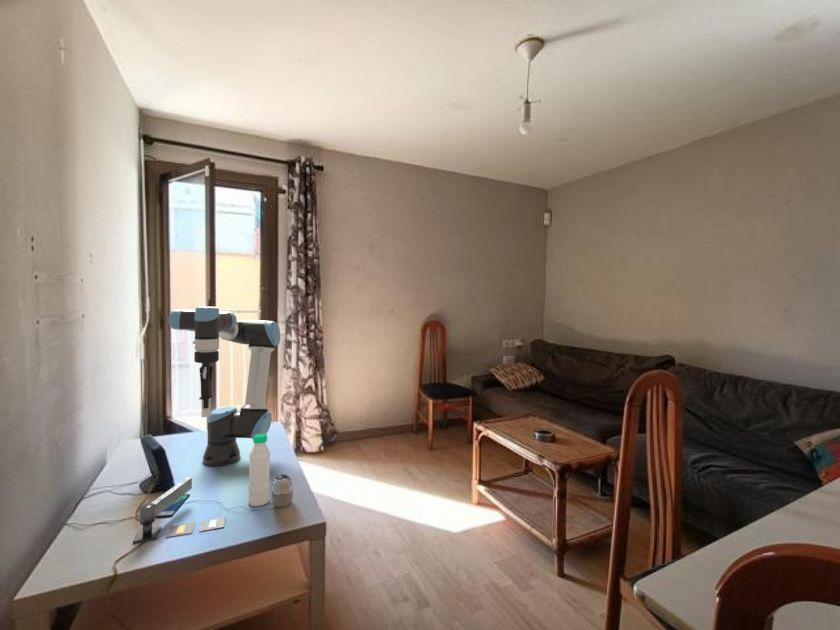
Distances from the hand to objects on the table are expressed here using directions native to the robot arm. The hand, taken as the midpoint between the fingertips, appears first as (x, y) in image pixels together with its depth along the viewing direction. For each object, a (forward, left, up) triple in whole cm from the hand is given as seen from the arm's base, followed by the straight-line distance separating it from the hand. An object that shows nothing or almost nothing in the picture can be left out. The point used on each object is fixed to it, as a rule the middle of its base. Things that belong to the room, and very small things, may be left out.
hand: (206, 416), depth 136 cm
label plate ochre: (+14, -5, -32) cm, 36 cm away
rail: (+6, -10, -28) cm, 30 cm away
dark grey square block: (+14, -14, -32) cm, 38 cm away
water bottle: (+4, +18, -33) cm, 37 cm away
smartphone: (-3, -11, -33) cm, 35 cm away
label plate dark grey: (+14, +4, -32) cm, 35 cm away
